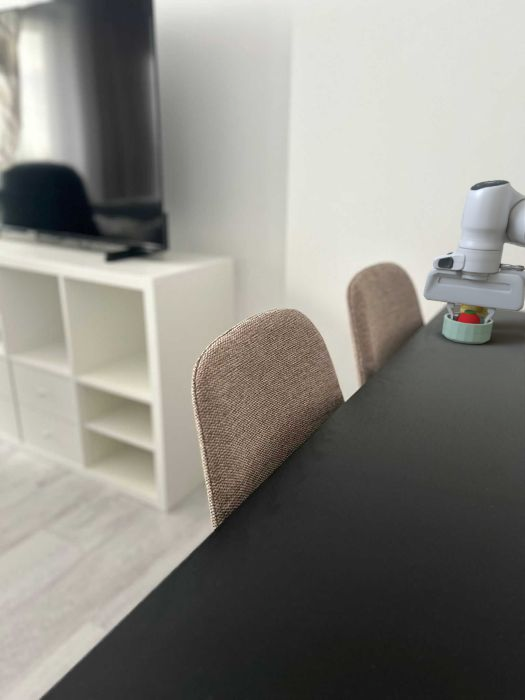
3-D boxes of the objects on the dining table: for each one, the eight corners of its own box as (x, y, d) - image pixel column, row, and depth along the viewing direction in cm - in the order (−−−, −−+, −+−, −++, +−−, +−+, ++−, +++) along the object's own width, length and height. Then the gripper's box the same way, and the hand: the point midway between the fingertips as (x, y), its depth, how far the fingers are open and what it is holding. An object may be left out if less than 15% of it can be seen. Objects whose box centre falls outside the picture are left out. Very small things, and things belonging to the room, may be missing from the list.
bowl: (477, 331, 118) (480, 312, 117) (498, 345, 109) (501, 324, 107) (435, 331, 118) (437, 312, 116) (452, 344, 108) (455, 324, 107)
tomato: (472, 329, 115) (476, 308, 114) (482, 336, 111) (486, 314, 109) (452, 329, 115) (455, 308, 113) (460, 336, 110) (464, 314, 109)
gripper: (533, 264, 105) (521, 328, 110) (432, 255, 115) (424, 314, 119) (532, 268, 100) (519, 336, 105) (425, 259, 110) (418, 321, 114)
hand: (468, 324), depth 112 cm, fingers closed on tomato, 5 cm apart
